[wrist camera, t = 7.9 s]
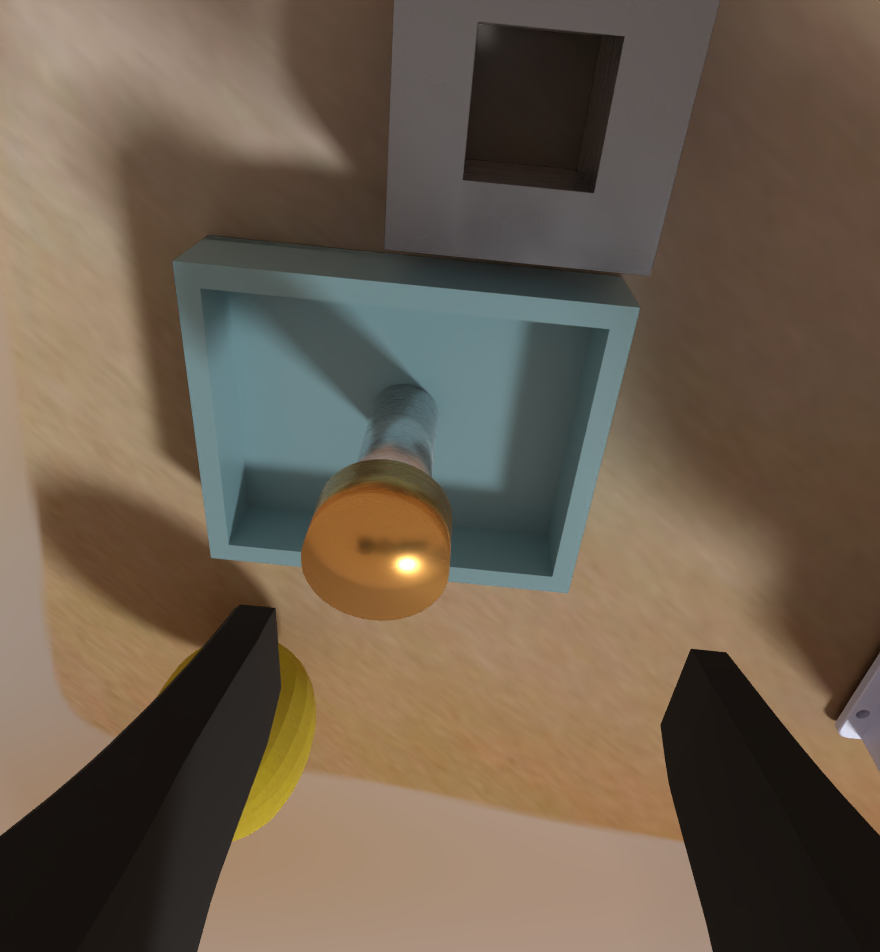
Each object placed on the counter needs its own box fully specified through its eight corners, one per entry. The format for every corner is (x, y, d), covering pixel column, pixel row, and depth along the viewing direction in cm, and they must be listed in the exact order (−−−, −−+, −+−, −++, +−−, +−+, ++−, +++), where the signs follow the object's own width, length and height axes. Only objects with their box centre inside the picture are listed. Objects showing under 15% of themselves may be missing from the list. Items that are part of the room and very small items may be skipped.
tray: (560, 543, 23) (568, 593, 21) (235, 510, 23) (211, 557, 21) (622, 276, 18) (640, 307, 16) (207, 234, 18) (172, 261, 16)
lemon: (344, 608, 26) (295, 812, 19) (322, 700, 28) (272, 905, 22) (197, 576, 25) (92, 773, 18) (190, 673, 28) (98, 874, 21)
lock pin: (453, 463, 21) (443, 627, 15) (352, 454, 21) (302, 613, 15) (463, 370, 20) (456, 513, 14) (353, 359, 20) (298, 498, 14)
